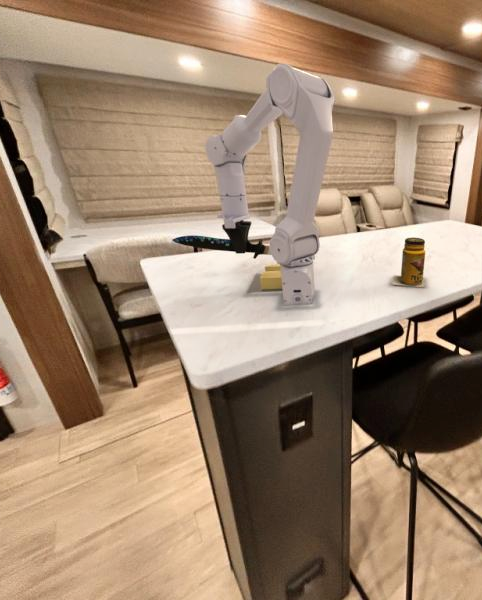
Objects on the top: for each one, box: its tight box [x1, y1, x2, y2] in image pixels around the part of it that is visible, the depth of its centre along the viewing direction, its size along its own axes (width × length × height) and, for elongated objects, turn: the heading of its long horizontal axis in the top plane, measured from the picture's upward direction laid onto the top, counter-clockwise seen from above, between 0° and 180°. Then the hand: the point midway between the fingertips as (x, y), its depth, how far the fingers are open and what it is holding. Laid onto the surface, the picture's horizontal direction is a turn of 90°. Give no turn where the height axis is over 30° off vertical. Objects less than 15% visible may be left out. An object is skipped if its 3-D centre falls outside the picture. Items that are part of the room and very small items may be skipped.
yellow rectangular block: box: [260, 270, 282, 290], centre depth 76 cm, size 5×6×3 cm
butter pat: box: [264, 263, 281, 271], centre depth 83 cm, size 2×6×3 cm, turn 102°
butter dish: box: [246, 272, 283, 294], centre depth 80 cm, size 14×12×1 cm
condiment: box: [392, 237, 426, 288], centre depth 83 cm, size 7×8×12 cm
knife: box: [171, 234, 272, 260], centre depth 77 cm, size 31×3×4 cm, turn 100°
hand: (241, 252), depth 77 cm, fingers closed on knife
